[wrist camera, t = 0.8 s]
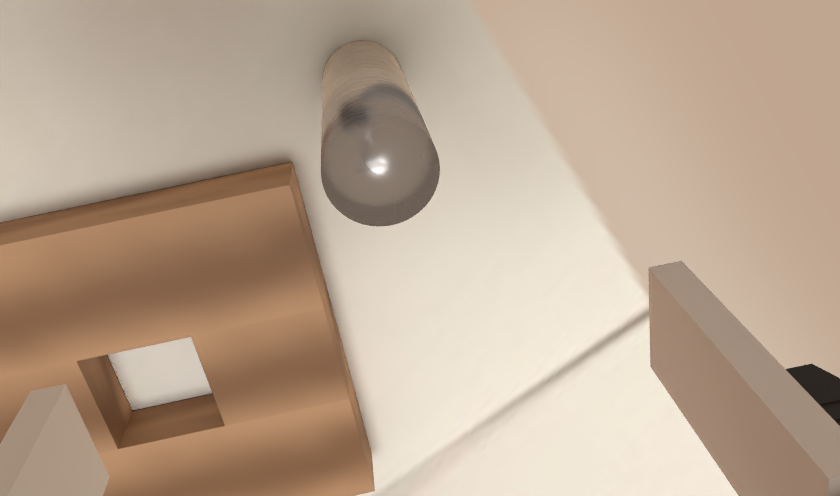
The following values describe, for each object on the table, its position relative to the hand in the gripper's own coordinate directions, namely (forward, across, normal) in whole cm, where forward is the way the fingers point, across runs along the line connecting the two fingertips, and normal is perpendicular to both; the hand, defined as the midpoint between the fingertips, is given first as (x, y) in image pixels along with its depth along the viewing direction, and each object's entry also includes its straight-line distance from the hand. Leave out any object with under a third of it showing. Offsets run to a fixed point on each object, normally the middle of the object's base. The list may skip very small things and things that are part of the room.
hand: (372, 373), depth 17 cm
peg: (+19, +1, +2) cm, 20 cm away
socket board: (+19, -12, -10) cm, 25 cm away
